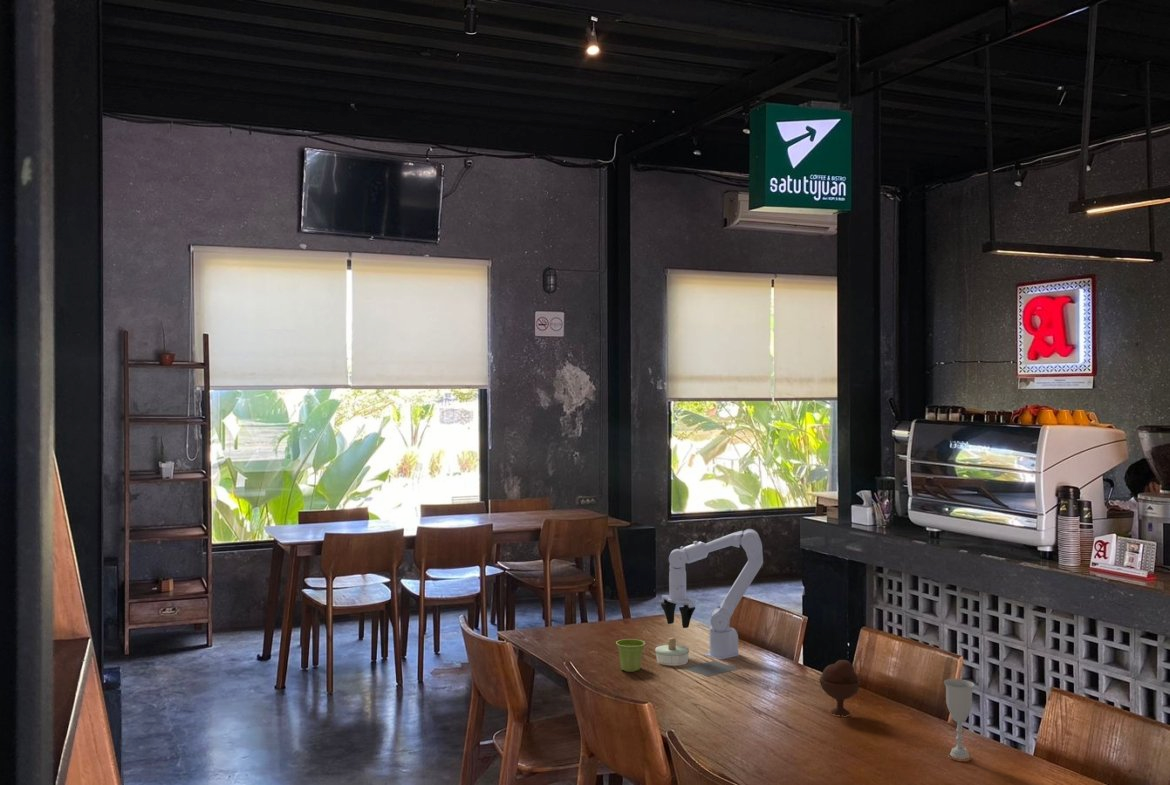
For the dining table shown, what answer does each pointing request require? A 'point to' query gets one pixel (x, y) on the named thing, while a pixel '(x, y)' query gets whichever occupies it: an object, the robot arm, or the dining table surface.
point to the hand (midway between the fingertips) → (678, 625)
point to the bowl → (672, 659)
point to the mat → (710, 668)
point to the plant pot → (630, 654)
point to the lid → (671, 649)
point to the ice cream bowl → (840, 684)
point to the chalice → (959, 709)
